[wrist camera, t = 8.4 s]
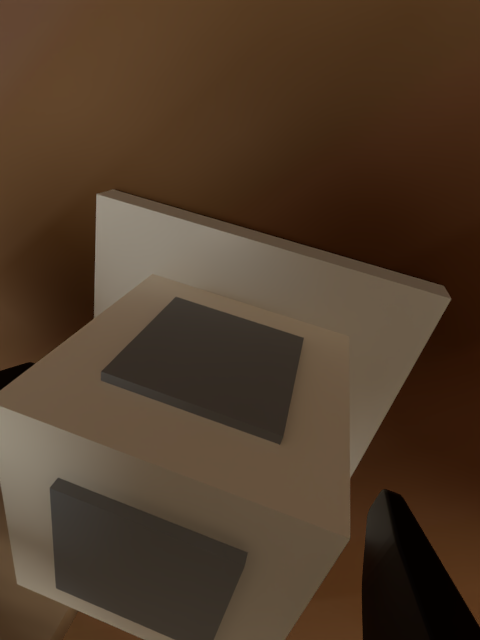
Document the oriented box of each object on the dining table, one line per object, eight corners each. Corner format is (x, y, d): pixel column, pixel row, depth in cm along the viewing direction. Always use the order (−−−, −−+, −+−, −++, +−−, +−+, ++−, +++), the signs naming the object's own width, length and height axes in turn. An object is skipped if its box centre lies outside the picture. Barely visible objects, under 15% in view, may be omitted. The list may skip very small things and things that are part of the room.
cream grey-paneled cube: (289, 473, 12) (251, 700, 8) (137, 417, 13) (9, 593, 8) (352, 329, 10) (355, 544, 5) (153, 267, 10) (-27, 399, 5)
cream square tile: (325, 503, 14) (324, 523, 13) (103, 421, 15) (91, 436, 14) (444, 285, 9) (451, 298, 9) (112, 189, 10) (96, 194, 10)
